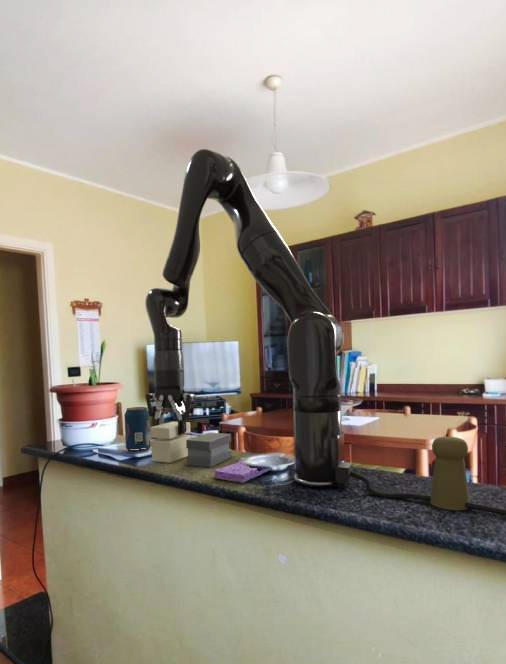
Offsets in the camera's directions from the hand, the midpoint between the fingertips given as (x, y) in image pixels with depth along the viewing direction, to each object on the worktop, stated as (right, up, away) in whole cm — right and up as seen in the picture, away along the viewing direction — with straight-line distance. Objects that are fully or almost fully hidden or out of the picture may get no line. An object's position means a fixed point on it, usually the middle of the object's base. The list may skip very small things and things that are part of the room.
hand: (171, 433), depth 110 cm
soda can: (-10, -6, +10) cm, 16 cm away
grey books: (+10, -6, -5) cm, 13 cm away
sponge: (+18, -7, -18) cm, 26 cm away
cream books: (0, -6, 0) cm, 6 cm away
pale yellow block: (0, 0, 0) cm, 0 cm away
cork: (+51, -7, -40) cm, 65 cm away
